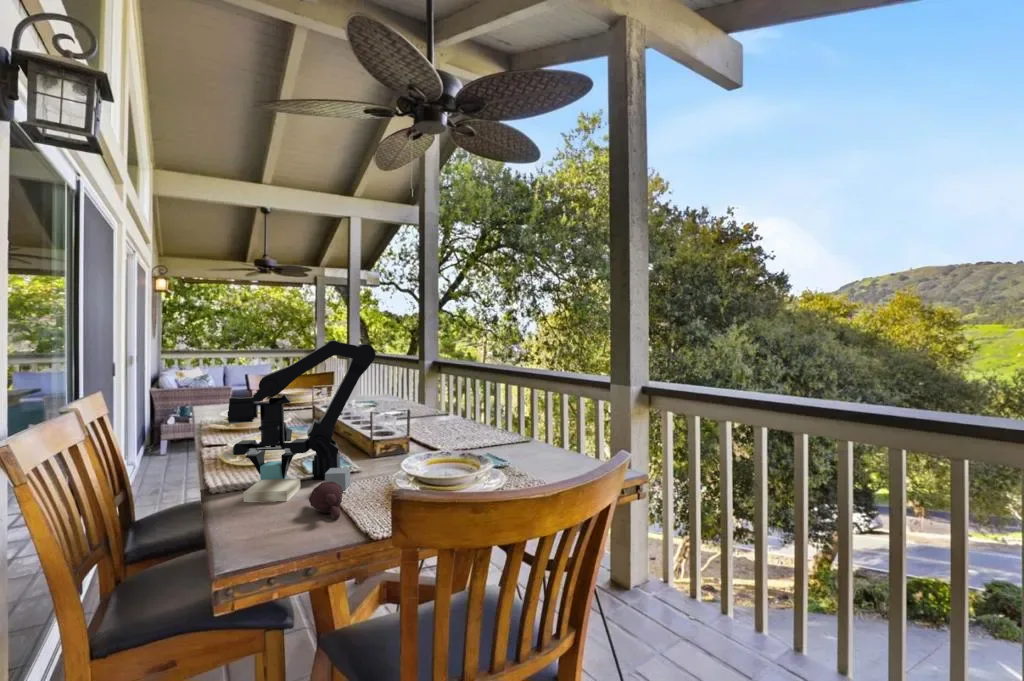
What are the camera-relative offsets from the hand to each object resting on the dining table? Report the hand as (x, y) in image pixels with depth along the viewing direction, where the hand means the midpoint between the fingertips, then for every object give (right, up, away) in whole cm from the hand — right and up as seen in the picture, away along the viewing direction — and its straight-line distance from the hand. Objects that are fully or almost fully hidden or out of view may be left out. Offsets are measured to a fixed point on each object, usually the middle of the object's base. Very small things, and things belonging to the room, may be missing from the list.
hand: (273, 478), depth 140 cm
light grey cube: (+19, -1, -7) cm, 21 cm away
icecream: (+22, -2, -22) cm, 31 cm away
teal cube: (0, -1, 0) cm, 1 cm away
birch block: (+5, -2, -11) cm, 12 cm away
